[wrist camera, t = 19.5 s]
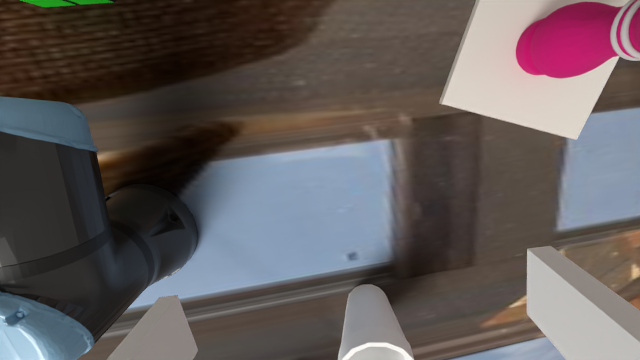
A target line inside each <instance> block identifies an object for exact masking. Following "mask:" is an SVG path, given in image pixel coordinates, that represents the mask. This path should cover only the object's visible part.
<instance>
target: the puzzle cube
mask: <svg viewBox="0 0 640 360" xmlns="http://www.w3.org/2000/svg"><path fill="white" fill-rule="evenodd" d="M21 1H24V2H28V3H31V4H34V5H38V6H41V7H56V6H71V5H77V4H81V5H83V4H98V3H113V2H115V0H21Z"/></svg>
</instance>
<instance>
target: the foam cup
mask: <svg viewBox="0 0 640 360" xmlns="http://www.w3.org/2000/svg"><path fill="white" fill-rule="evenodd" d="M338 360H414V357H413V354H412V350H411V347H410V344H409V343H408V342H407V341H406V339H405V336H404V334H403V332H402V330H401V328H400V325H399V323H398V321H397V319H396V316H395V314H394V312H393V310H392V308H391V305H390V303H389V301H388V299H387V296H386V295H385V293H384V292H383V291H382V290H381V289H380V288H379V287H377V286H374V285H372V284H362V285H360V286H358V287H355V288H354V289H353V290H352V291H351V292H350V293H349V296H348V300H347V306H346V314H345V321H344V328H343V335H342V342H341V346H340V350H339V354H338Z"/></svg>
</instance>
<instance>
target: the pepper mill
mask: <svg viewBox="0 0 640 360" xmlns="http://www.w3.org/2000/svg"><path fill="white" fill-rule="evenodd" d="M616 56H621V57H622V58H624V59H627V60H634V61H638V60H640V0H630V1H628V2H627V3H626V4H625V5H624V6H622V7H615V6H611V5H607V4H604V3H600V2H578V3H574V4H570V5H566V6H563V7H561V8H559V9H557V10H555V11H554V12H552V13H551V14H549V15H548V16H547V17H546V18H543V19H540V20H538V21H536V22H534V23H532V24H531V25H530V26H528V27H527V28H526V29H525V30H524V32H523V33H522V34H521V36H520V38H519V40H518V43H517V46H516V59H517V62H518V64H519V66H520V67H521V68H522V69H523V70H524V71H525V72H527V73H529V74H531V75H546V76H549V77H552V78H569V77H574V76H579V75H582V74H584V73H587V72H589V71H591V70H593V69H595V68H597V67H599V66H600V65H602V64H603V63H605V62H606V61H608V60H609V59H611V58H612V57H616Z"/></svg>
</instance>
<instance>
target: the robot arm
mask: <svg viewBox="0 0 640 360" xmlns="http://www.w3.org/2000/svg"><path fill="white" fill-rule="evenodd" d="M96 152H98V149H97V147H96V146H94V143H93V140H92V136H91V132H90V129H89V125H88V121H87V118H86V117H85V115H84V114H83V112H82V111H80V110H79V109H78V108H76V107H75V106H73V105H71V104H68V103H63V102H55V101H45V100H34V99H23V98H11V97H0V360H77V359H78V358H79V357H80V356H81V355H82V354H84V353H86V352H88V351H89V350H90V349H91V348H92V346H93V345H94V344H95V343H96V342H97V341H98V340H99V338H100V337H101V336H102V335H103V334H104V333H105V332H106V331H107V330H108V329H109V328H110V327H111V325H112V324H113V323H114V322H115V321H116V320H117V319H118V318H119V317H120V316H121V315H122V314H123V312H124V311H125V310H126V309H127V308H128V307H129V306H130V305H131V304H132V303H133V302H134V301H135V300H136V298H137V297H138V296H139V295H140V294H141V293H142V292H143V291H144V290H145V289H146V288H147V287H148V286H150V285H152V284H153V283H155V282H157V281H159V280H161V279H164V278H167V277H169V276H171V275H173V274H174V273H176V272H177V271H179V270H180V269H181V268H182V267H183V266H184V265H185V264H186V262H187V261H188V260H189V259H190V258H191V256H192V255H193V253H194V251H195V249H196V245H197V237H198V235H197V227H196V224H195V221H194V218H193V216H192V214H191V212H190V211H189V209H188V208H187V207H186V205H185V204H184V203H183V202H182V201H181V200H180V199H179V198H177V197H176V196H175V195H174V194H172V193H170V192H169V191H167V190H165V189H163V188H160V187H158V186H154V185H150V184H132V185H128V186H125V187H122V188H120V189H118V190H116V191H114V192H112V193H110V194H108V195H107V196H106V197H105V194H104V189H103V184H102V179H101V174H100V169H99V164H98V158H97V153H96ZM527 314H528V315H529V317H530V318H531V319H532V320H533V321H534V322H535V324H536V325H537V326H538V327H539V328H540V330H541V331H542V332H543V333H544V334H545V335H546V337H547V338H548V339H549V340H550V341H551V342H552V344H553V345H554V346H555V347H556V348H557V349H558V351H559V352H560V353H561V354H562V355H563V356H564V358H565V359H566V360H640V310H638V309H637V308H635V307H634V306H633V305H631V304H630V303H628V302H627V301H626V300H624V299H623V298H622V297H620V296H619V295H617V294H616V293H615V292H613V291H612V290H611V289H609V288H608V287H606V286H605V285H604V284H602V283H601V282H600V281H598V280H597V279H595V278H594V277H593V276H591V275H590V274H589V273H587V272H586V271H584V270H583V269H582V268H580V267H579V266H578V265H576V264H575V263H573V262H572V261H571V260H569V259H568V258H567V257H565V256H564V255H562V254H561V253H560V252H558V251H557V250H555V249H554V248H553V247H551V246H545V247H538V248H530V249H527ZM197 351H198V349H197V346H196V344H195V341H194V338H193V336H192V333H191V330H190V328H189V325H188V322H187V320H186V317H185V314H184V312H183V309H182V306H181V304H180V301H179V298H178V295H175V296H167V297H160V298H159V299H158V300H157V301H156V302H155V303H154V304H153V306H152V307H151V308H150V309H149V310H148V311H147V313H146V314H145V315H144V316H143V317H142V319H141V320H140V321H139V322H138V323H137V324H136V326H135V327H134V328H133V329H132V330H131V332H130V333H129V334H128V335H127V336H126V337H125V339H124V340H123V341H122V342H121V343H120V344H119V346H118V347H117V348H116V349H115V350H114V352H113V353H112V354H111V355H110V356H109V357H108V359H107V360H193V359H194V357H195V355H196V353H197Z"/></svg>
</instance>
